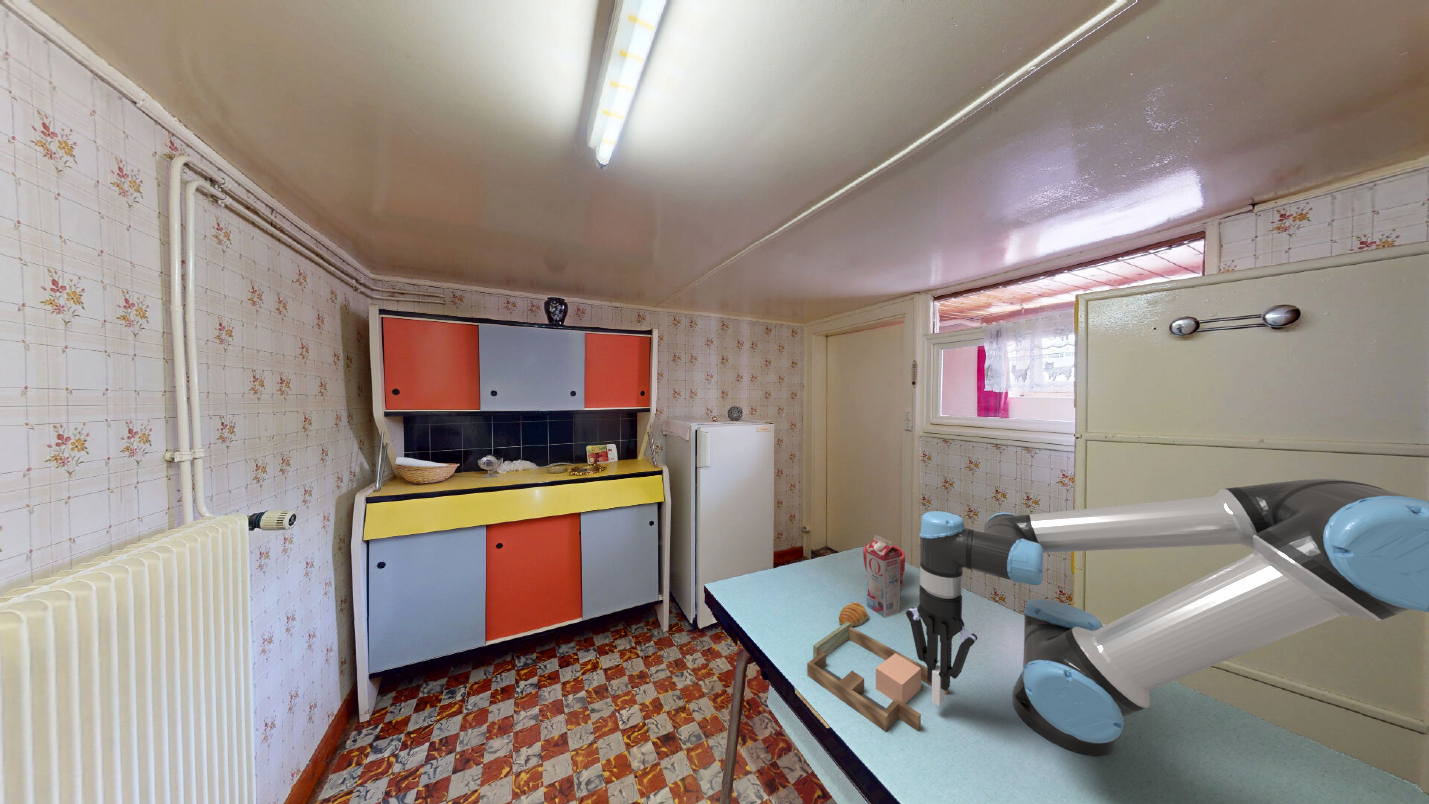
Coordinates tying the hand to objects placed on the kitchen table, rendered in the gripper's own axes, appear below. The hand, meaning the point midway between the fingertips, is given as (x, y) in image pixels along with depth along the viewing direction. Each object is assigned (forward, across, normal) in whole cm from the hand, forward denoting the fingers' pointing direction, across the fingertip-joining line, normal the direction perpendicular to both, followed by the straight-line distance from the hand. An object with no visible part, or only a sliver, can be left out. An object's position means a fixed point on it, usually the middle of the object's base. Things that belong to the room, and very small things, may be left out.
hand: (938, 700), depth 79 cm
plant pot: (+3, +33, -41) cm, 53 cm away
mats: (+3, +14, +9) cm, 17 cm away
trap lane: (+3, +13, +2) cm, 14 cm away
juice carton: (+3, +26, -27) cm, 37 cm away
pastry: (+4, +29, -15) cm, 33 cm away
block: (+3, +8, 0) cm, 9 cm away
